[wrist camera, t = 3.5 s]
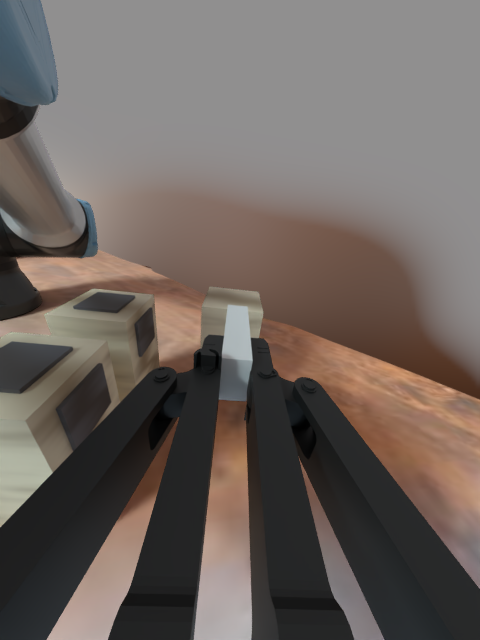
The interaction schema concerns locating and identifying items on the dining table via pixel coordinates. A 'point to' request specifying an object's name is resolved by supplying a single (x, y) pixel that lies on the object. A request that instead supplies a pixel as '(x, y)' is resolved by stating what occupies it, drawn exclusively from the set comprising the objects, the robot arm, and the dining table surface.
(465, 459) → the dining table surface
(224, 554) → the dining table surface
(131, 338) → the marked block 1
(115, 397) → the marked block 2
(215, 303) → the plain block
